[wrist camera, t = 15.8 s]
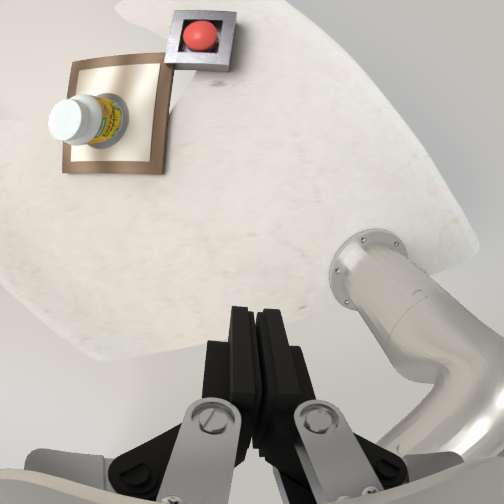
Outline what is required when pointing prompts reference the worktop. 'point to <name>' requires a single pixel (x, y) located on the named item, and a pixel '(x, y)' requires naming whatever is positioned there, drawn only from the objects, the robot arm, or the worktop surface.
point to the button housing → (211, 61)
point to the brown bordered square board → (124, 113)
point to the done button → (200, 37)
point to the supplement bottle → (85, 120)
